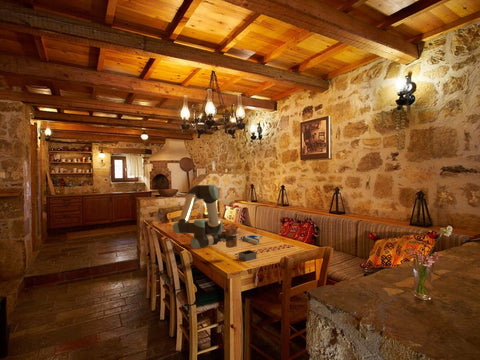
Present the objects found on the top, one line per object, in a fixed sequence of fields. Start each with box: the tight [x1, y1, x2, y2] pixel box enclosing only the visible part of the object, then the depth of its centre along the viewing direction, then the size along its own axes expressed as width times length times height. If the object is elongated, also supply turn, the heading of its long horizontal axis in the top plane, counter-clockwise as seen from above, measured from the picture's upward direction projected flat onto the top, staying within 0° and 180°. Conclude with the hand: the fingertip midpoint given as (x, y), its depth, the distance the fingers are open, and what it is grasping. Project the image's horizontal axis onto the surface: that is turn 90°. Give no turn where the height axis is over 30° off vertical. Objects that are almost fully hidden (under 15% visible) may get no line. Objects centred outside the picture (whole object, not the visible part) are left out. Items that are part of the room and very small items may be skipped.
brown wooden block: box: [225, 227, 238, 249], centre depth 203 cm, size 7×4×14 cm, turn 128°
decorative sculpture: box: [238, 234, 264, 246], centre depth 259 cm, size 27×4×30 cm
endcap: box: [238, 249, 258, 262], centre depth 204 cm, size 11×8×5 cm
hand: (236, 235), depth 206 cm, fingers closed on brown wooden block, 4 cm apart
